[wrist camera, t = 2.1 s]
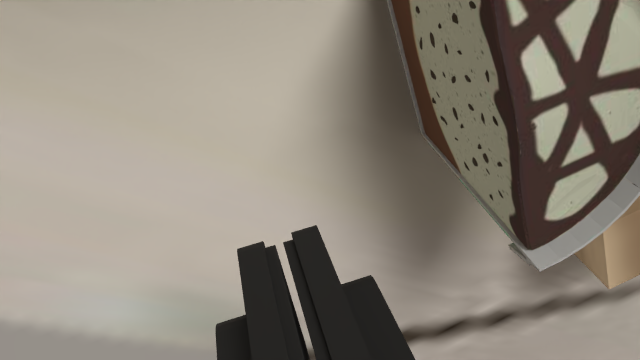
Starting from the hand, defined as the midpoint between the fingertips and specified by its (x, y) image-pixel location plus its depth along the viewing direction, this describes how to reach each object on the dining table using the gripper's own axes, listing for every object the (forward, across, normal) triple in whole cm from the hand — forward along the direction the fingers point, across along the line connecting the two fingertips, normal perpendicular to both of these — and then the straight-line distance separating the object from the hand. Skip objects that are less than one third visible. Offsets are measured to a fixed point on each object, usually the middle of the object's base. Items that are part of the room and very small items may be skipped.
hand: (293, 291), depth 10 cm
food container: (+14, -11, -1) cm, 17 cm away
